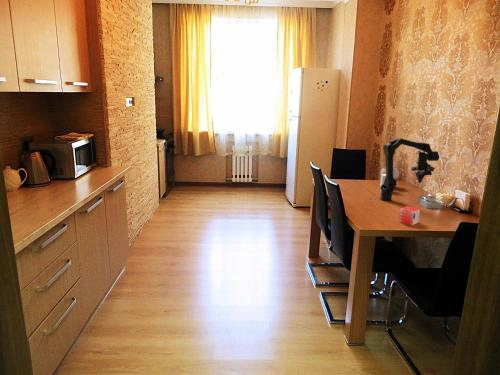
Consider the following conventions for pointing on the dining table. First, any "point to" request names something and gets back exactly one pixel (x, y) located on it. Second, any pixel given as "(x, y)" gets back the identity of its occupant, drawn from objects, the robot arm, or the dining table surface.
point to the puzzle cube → (409, 215)
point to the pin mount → (421, 198)
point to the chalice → (395, 172)
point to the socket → (430, 204)
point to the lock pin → (423, 196)
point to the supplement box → (382, 179)
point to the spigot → (431, 198)
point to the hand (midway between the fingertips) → (419, 182)
